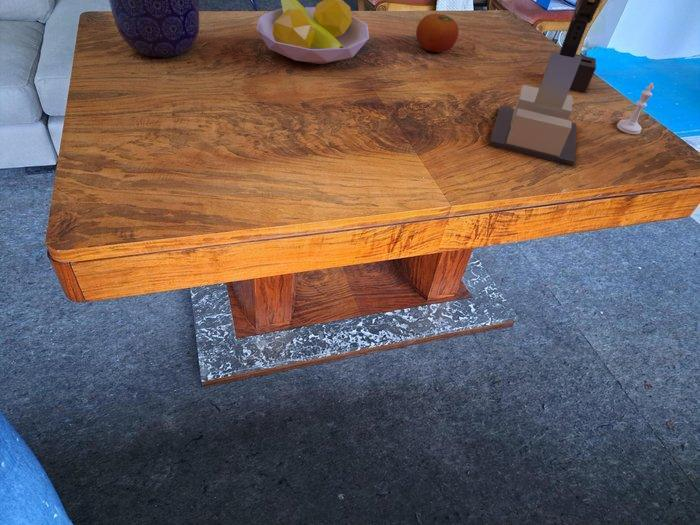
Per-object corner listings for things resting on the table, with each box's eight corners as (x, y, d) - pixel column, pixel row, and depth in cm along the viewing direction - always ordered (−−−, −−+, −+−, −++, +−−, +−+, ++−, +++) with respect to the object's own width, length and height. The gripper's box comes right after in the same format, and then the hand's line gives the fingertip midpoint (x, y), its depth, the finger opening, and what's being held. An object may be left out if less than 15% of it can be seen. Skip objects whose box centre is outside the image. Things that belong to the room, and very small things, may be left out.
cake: (561, 123, 105) (572, 95, 101) (560, 139, 101) (572, 111, 96) (513, 111, 107) (522, 84, 103) (509, 126, 102) (519, 99, 98)
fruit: (405, 43, 132) (411, 11, 126) (437, 39, 136) (444, 7, 130) (430, 60, 125) (436, 26, 120) (462, 54, 129) (470, 22, 124)
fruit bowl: (384, 71, 118) (391, 20, 110) (269, 79, 110) (268, 25, 102) (345, 26, 137) (349, -21, 129) (244, 30, 129) (241, -19, 121)
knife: (560, 109, 94) (599, 12, 82) (560, 113, 93) (599, 15, 81) (533, 103, 95) (567, 6, 83) (532, 107, 94) (567, 10, 82)
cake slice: (559, 148, 98) (571, 120, 94) (559, 156, 96) (571, 128, 92) (508, 136, 100) (517, 108, 95) (506, 143, 97) (516, 115, 93)
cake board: (574, 127, 107) (576, 123, 106) (572, 166, 96) (574, 161, 95) (499, 109, 110) (500, 105, 109) (488, 145, 98) (490, 140, 98)
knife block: (585, 82, 124) (595, 58, 119) (585, 92, 119) (596, 67, 115) (552, 75, 125) (561, 51, 121) (550, 85, 121) (560, 60, 117)
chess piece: (645, 133, 108) (670, 88, 101) (627, 135, 106) (651, 90, 99) (629, 121, 111) (652, 77, 104) (611, 123, 109) (633, 79, 102)
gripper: (648, -66, 68) (594, 62, 80) (641, -84, 78) (594, 33, 90) (591, -75, 69) (546, 52, 81) (591, -91, 79) (551, 24, 91)
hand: (571, 41), depth 85 cm, fingers closed on knife, 2 cm apart
